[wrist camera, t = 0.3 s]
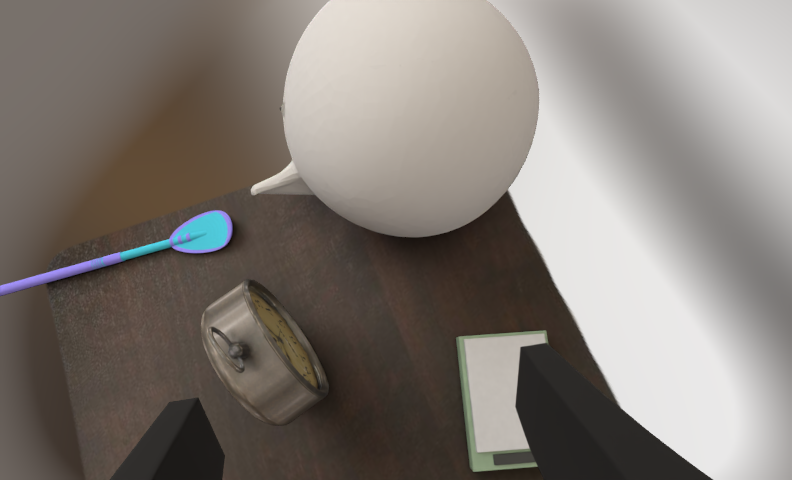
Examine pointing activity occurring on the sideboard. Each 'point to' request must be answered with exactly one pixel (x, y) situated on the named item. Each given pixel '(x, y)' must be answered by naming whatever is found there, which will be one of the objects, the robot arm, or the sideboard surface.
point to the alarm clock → (262, 355)
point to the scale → (494, 399)
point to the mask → (407, 113)
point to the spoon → (148, 249)
